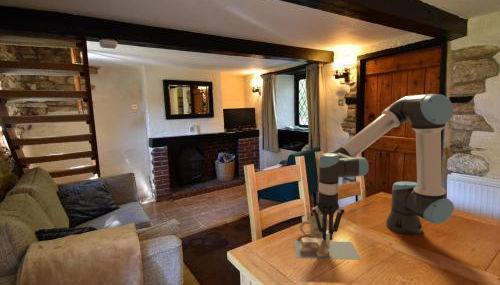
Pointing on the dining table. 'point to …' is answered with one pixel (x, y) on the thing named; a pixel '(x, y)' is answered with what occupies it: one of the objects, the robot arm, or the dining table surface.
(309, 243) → the t block
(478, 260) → the dining table surface
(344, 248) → the board
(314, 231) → the mug
